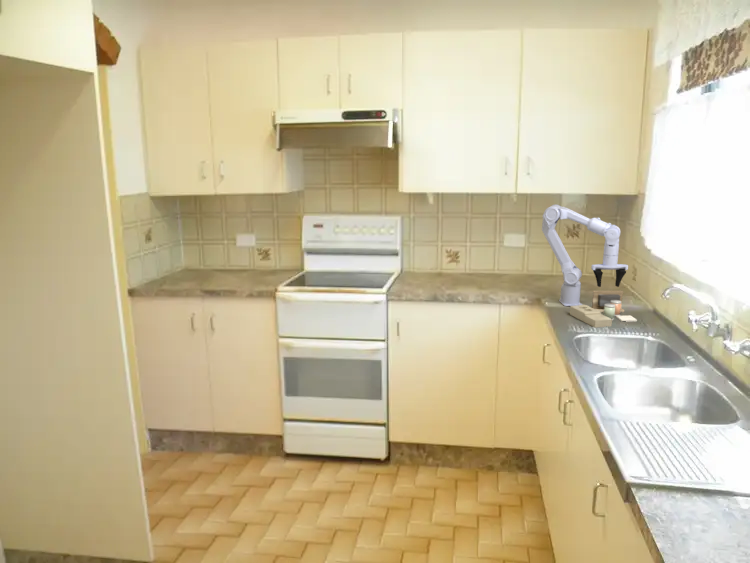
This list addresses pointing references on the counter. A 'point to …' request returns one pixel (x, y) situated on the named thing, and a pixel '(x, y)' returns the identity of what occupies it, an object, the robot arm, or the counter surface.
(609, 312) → the cylinder
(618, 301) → the cylinder
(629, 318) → the pad
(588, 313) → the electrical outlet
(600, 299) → the junction unit
